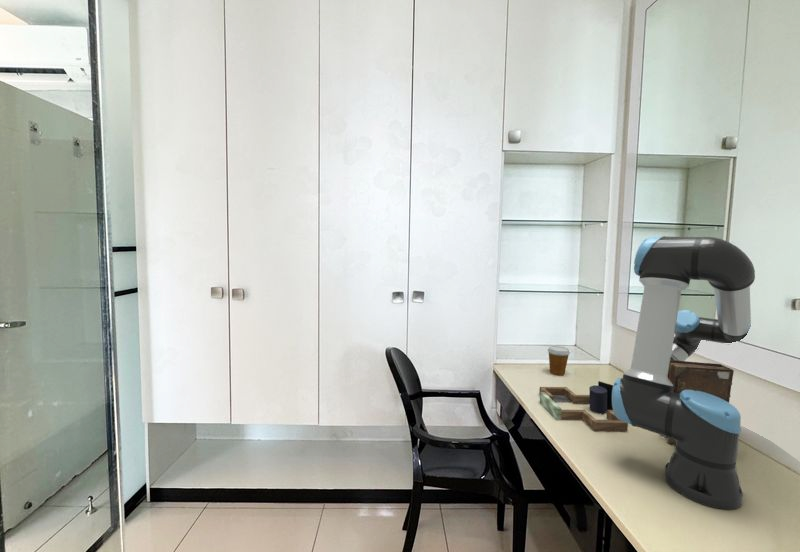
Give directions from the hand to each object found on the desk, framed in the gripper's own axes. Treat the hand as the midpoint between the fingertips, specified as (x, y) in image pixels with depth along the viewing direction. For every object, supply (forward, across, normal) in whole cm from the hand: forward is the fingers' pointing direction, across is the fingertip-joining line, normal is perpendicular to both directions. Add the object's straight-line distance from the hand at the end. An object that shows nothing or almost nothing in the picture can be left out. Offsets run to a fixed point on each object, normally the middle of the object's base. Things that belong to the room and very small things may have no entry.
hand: (620, 401), depth 134 cm
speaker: (+8, 0, +3) cm, 8 cm away
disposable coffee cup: (+7, +38, +1) cm, 38 cm away
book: (-4, -21, -9) cm, 23 cm away
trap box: (+14, 0, +8) cm, 16 cm away
